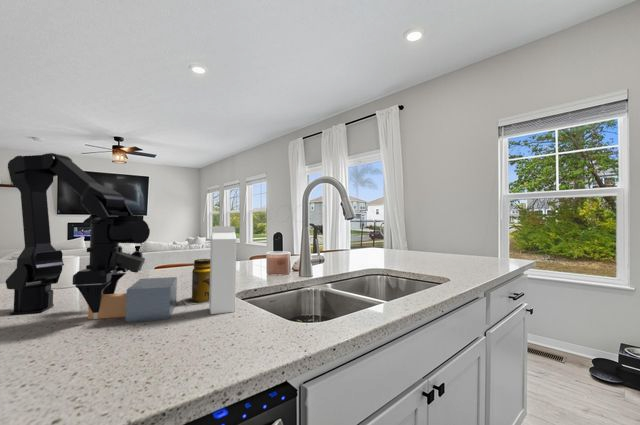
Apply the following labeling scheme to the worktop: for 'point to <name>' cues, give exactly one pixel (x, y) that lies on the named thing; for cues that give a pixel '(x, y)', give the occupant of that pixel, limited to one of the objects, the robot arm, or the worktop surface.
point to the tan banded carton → (110, 307)
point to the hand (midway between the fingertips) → (102, 307)
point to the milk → (222, 269)
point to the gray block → (151, 299)
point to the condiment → (200, 282)
